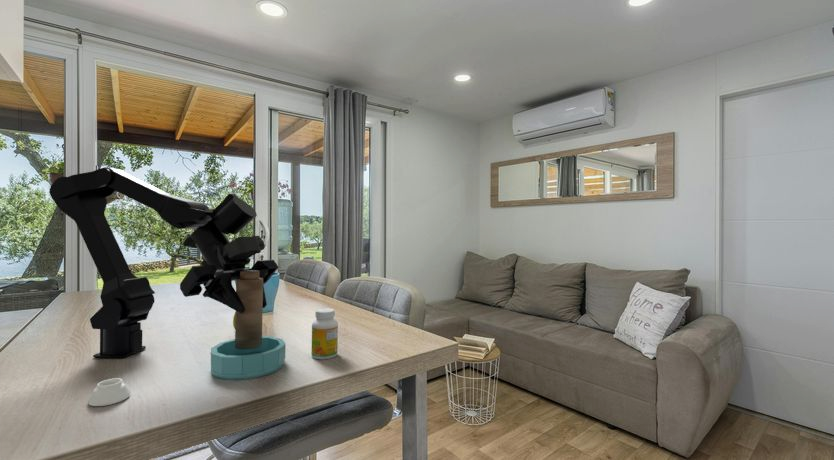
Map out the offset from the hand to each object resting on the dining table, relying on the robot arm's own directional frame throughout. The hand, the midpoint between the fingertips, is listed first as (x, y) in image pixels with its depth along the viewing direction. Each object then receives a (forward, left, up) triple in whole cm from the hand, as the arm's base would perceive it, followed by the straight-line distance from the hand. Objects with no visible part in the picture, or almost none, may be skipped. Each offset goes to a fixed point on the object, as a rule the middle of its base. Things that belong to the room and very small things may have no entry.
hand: (254, 309), depth 73 cm
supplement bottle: (+12, +8, -12) cm, 18 cm away
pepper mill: (-1, +1, -7) cm, 7 cm away
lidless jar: (-16, -14, -12) cm, 25 cm away
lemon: (-11, +21, -12) cm, 26 cm away
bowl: (-1, +1, -11) cm, 11 cm away
